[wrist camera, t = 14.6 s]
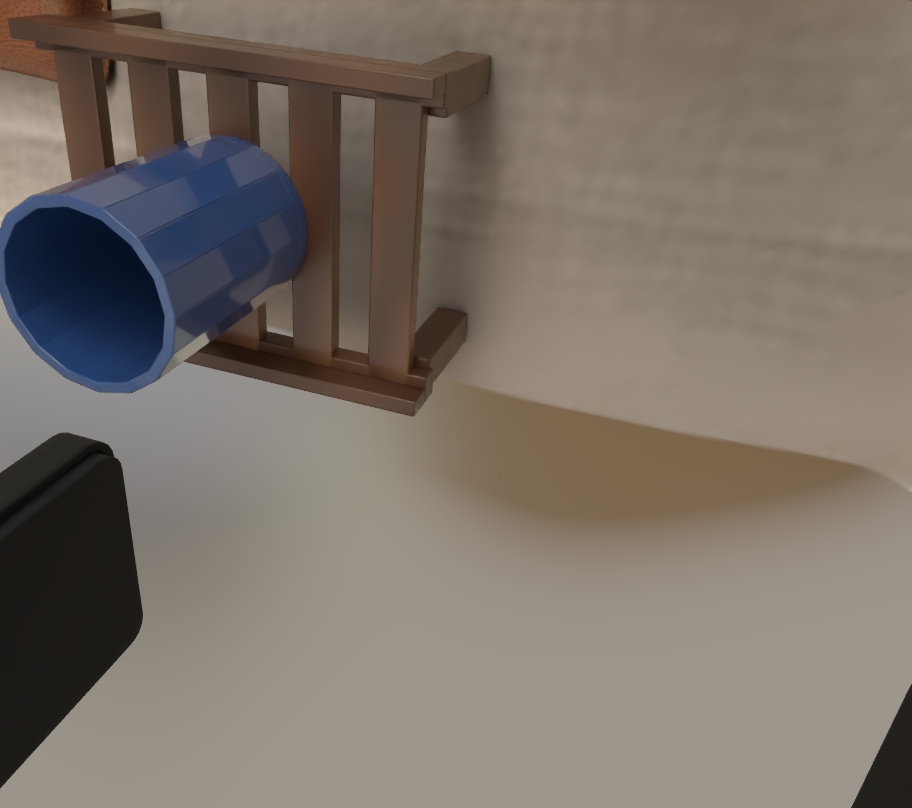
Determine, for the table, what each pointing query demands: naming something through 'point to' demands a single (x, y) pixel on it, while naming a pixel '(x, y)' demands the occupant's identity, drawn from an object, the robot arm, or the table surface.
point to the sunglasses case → (22, 55)
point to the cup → (149, 259)
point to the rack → (311, 170)
